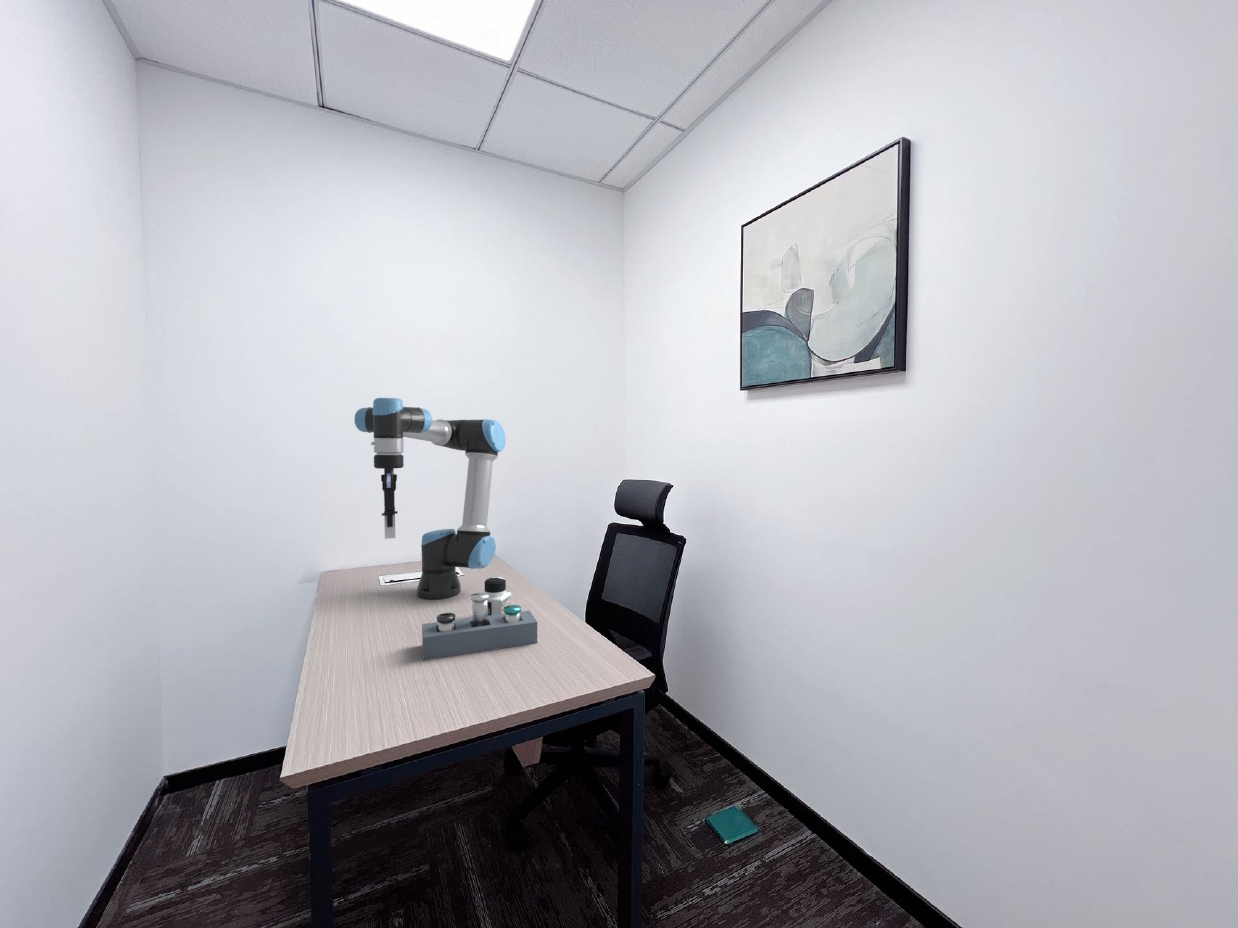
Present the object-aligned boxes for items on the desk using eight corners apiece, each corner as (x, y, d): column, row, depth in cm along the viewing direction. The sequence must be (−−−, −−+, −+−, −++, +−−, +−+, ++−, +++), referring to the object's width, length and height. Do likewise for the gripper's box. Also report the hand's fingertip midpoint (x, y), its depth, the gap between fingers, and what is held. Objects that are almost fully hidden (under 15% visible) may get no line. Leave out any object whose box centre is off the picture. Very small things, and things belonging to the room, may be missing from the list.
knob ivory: (470, 622, 142) (470, 593, 142) (487, 620, 144) (487, 591, 144) (472, 628, 138) (472, 598, 138) (490, 626, 140) (490, 596, 139)
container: (501, 624, 156) (501, 583, 155) (478, 622, 158) (478, 581, 157) (511, 615, 164) (511, 576, 163) (489, 613, 165) (489, 574, 165)
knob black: (436, 643, 139) (436, 614, 139) (454, 641, 141) (454, 611, 141) (437, 650, 135) (437, 620, 134) (456, 648, 137) (456, 617, 136)
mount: (422, 645, 140) (422, 624, 140) (529, 629, 152) (529, 610, 152) (423, 660, 131) (423, 637, 131) (537, 642, 143) (537, 621, 142)
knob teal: (502, 634, 146) (502, 606, 146) (519, 632, 148) (519, 604, 148) (505, 640, 142) (505, 611, 141) (522, 638, 144) (522, 609, 143)
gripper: (375, 453, 145) (376, 534, 146) (372, 455, 133) (374, 543, 135) (403, 452, 148) (404, 532, 149) (403, 454, 136) (404, 541, 137)
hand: (390, 537), depth 142 cm, fingers closed
